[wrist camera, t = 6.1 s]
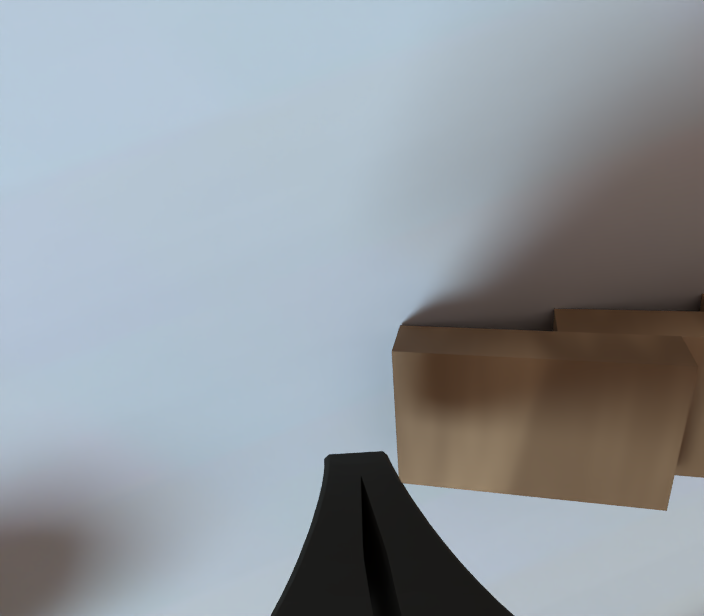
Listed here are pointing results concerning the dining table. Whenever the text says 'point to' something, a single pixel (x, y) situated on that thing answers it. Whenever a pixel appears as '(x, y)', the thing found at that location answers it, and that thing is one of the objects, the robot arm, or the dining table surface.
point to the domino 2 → (695, 328)
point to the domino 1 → (542, 412)
